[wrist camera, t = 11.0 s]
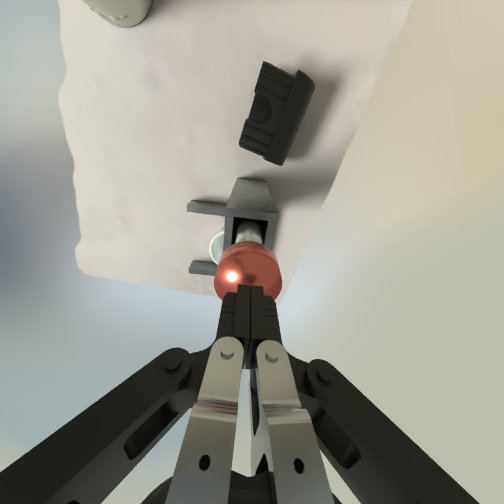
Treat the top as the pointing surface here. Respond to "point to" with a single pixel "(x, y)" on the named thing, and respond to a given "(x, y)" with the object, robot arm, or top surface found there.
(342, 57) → the top surface
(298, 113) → the end cap
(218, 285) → the ram plunger
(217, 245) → the ramekin
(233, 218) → the press
